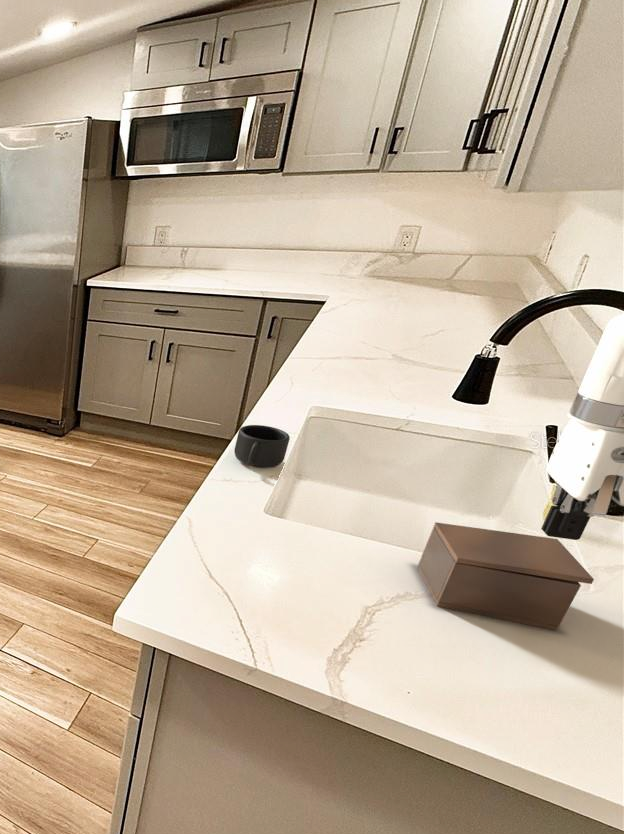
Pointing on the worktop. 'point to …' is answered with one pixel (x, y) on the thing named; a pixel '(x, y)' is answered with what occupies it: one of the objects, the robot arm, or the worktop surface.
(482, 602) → the box
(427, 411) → the worktop surface
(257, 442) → the mug
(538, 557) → the lid
